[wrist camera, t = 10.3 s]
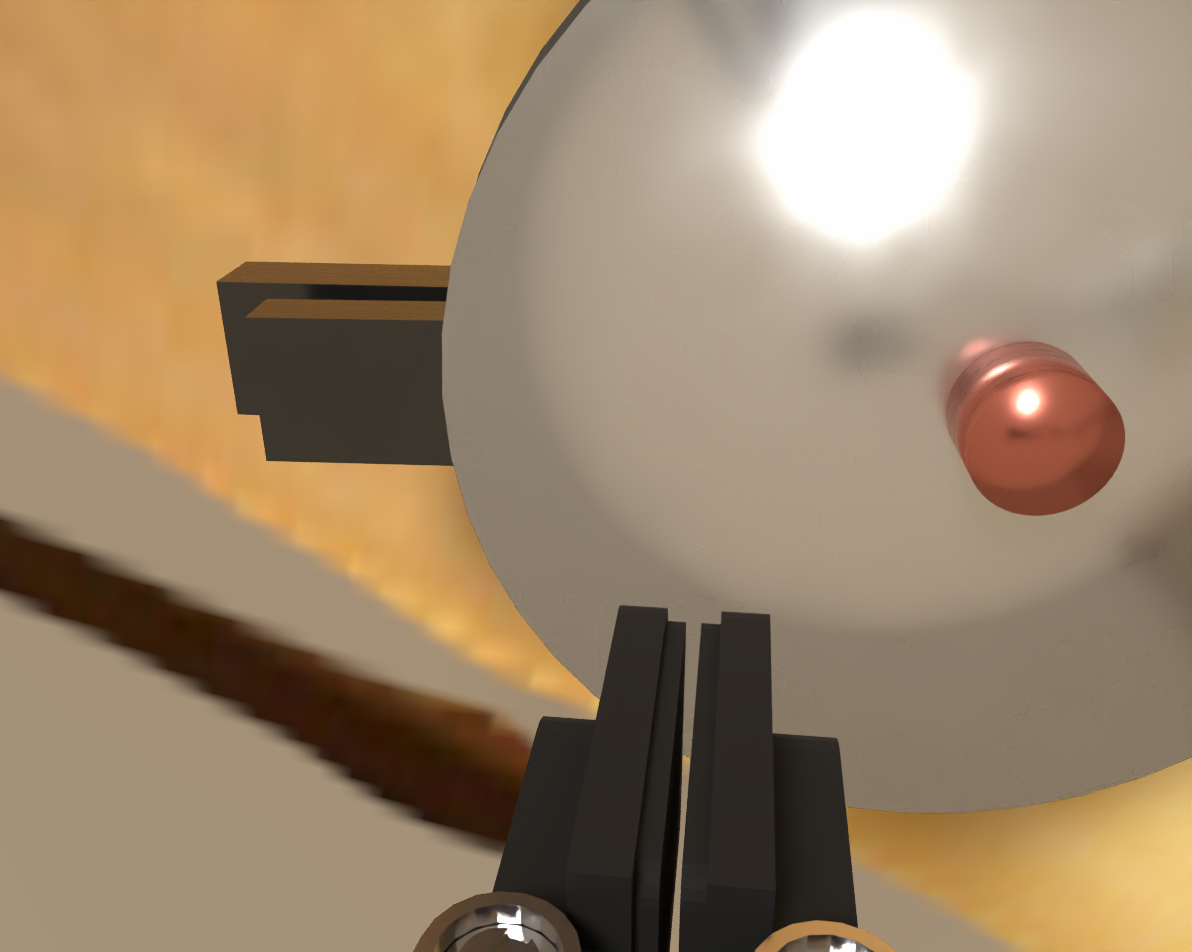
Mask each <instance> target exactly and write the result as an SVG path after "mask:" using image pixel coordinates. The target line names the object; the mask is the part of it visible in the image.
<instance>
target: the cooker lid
mask: <svg viewBox="0 0 1192 952" xmlns="http://www.w3.org/2000/svg"><path fill="white" fill-rule="evenodd" d="M245 323H246V329H247V336H248V342H249V349H250V355H251V362H252V369H253V375H254V382H255V388H256V395H257V401H258V408H259V414H260V421H261V428H262V434H263V441H264V447H265V454H266V460H267V461H289V462H328V463H366V464H405V465H444V466H454V469H455V472H456V476H457V479H458V483H459V486H460V490H461V493H462V497H463V500H464V503H465V507H466V510H467V514H468V516H469V518H470V521H471V523H472V525H473V527H474V530H475V532H476V534H477V536H478V539H479V541H480V543H481V545H482V548H483V550H484V552H485V554H486V557H487V559H488V561H489V564H490V566H491V568H492V569H493V571H494V572H495V574H496V576H497V577H498V579H499V581H500V582H501V584H502V585H503V587H504V589H505V590H506V592H507V594H508V595H509V597H510V599H511V600H512V602H513V603H514V605H515V607H516V608H517V610H518V612H519V613H520V615H521V616H522V617H523V618H524V620H525V621H526V622H527V623H528V625H529V626H530V627H531V628H532V630H533V631H534V632H535V633H536V635H537V636H538V637H539V638H540V640H541V641H542V642H543V643H544V644H545V646H546V647H547V648H548V649H549V651H550V652H551V653H552V654H553V656H554V657H555V658H556V659H557V660H558V661H559V662H560V663H561V664H562V665H563V666H564V667H565V668H566V669H568V670H569V671H570V672H571V673H572V674H573V675H574V676H575V677H576V678H577V679H578V680H579V681H580V682H581V683H582V684H583V685H584V686H585V687H586V688H587V689H588V690H589V691H590V692H591V693H592V694H594V695H595V696H596V697H597V698H598V699H600V697H601V692H602V687H603V682H604V677H605V672H606V667H607V662H608V658H609V653H610V648H611V643H612V638H613V633H614V628H615V623H616V618H617V613H618V609H619V606H620V605H628V606H644V607H661V608H668V621H678V622H686V652H685V685H684V719H683V752H682V754H683V755H685V756H686V757H689V758H691V748H692V736H693V723H694V711H695V698H696V685H697V673H698V660H699V647H700V635H701V624H702V623H711V624H721V611H726V612H743V613H759V614H770V626H771V676H772V726H773V733H778V734H791V735H805V736H818V737H832V738H837V740H838V742H839V748H840V756H841V766H842V776H843V786H844V796H845V806H846V807H850V808H861V809H871V810H881V811H891V812H901V813H966V812H976V811H986V810H996V809H1006V808H1016V807H1025V806H1030V805H1035V804H1040V803H1045V802H1050V801H1055V800H1060V799H1065V798H1070V797H1076V796H1081V795H1085V794H1088V793H1092V792H1095V791H1098V790H1102V789H1105V788H1108V787H1112V786H1115V785H1118V784H1122V783H1125V782H1128V781H1132V780H1135V779H1138V778H1142V777H1144V776H1147V775H1149V774H1152V773H1154V772H1157V771H1159V770H1162V769H1164V768H1167V767H1169V766H1171V765H1174V764H1176V763H1179V762H1181V761H1184V760H1186V759H1189V758H1191V757H1192V0H591V1H590V2H589V3H588V4H587V5H586V6H585V7H584V8H583V10H582V11H581V12H580V13H579V15H578V16H577V17H576V18H575V20H574V21H573V22H572V23H571V25H570V26H569V27H568V29H567V30H566V31H565V32H564V34H563V35H562V36H561V37H560V39H559V40H558V41H557V42H556V44H555V45H554V46H553V48H552V49H551V50H550V51H549V53H548V54H547V55H546V56H545V58H544V59H543V60H542V61H541V63H540V64H539V65H538V67H537V68H536V70H535V71H534V73H533V75H532V76H531V78H530V80H529V81H528V83H527V85H526V86H525V88H524V90H523V91H522V93H521V95H520V96H519V98H518V100H517V101H516V103H515V105H514V107H513V108H512V110H511V112H510V113H509V115H508V117H507V118H506V120H505V122H504V123H503V125H502V127H501V128H500V130H499V132H498V133H497V136H496V138H495V141H494V143H493V145H492V148H491V150H490V152H489V155H488V157H487V159H486V162H485V164H484V166H483V169H482V171H481V173H480V176H479V178H478V180H477V183H476V185H475V187H474V190H473V192H472V194H471V197H470V199H469V202H468V206H467V210H466V213H465V217H464V220H463V224H462V228H461V231H460V235H459V239H458V242H457V246H456V250H455V253H454V257H453V260H452V264H451V268H450V276H449V284H448V291H447V299H446V301H377V300H308V299H266V300H265V301H263V302H262V303H261V304H260V305H259V306H258V307H256V308H255V309H254V310H253V311H252V312H251V313H249V314H248V315H247V316H246V317H245Z"/></svg>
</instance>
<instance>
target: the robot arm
mask: <svg viewBox="0 0 1192 952" xmlns="http://www.w3.org/2000/svg"><path fill="white" fill-rule="evenodd" d="M685 652H686V622H678V621H668V608H661V607H644V606H628V605H620V606H619V609H618V613H617V618H616V623H615V628H614V633H613V638H612V643H611V648H610V653H609V658H608V662H607V667H606V672H605V677H604V682H603V687H602V692H601V697H600V702H599V707H598V712H597V717H596V720H587V719H573V718H560V717H545V716H543V717H542V719H541V720H540V722H539V725H538V728H537V731H536V735H535V739H534V742H533V746H532V750H531V753H530V757H529V761H528V764H527V768H526V772H525V775H524V779H523V783H522V786H521V790H520V794H519V797H518V801H517V805H516V808H515V812H514V815H513V819H512V823H511V826H510V830H509V834H508V837H507V841H506V845H505V848H504V852H503V856H502V859H501V863H500V867H499V870H498V874H497V878H496V881H495V885H494V889H493V892H492V893H487V894H480V895H476V896H473V897H471V898H468V899H466V900H464V901H461V902H459V903H456V904H454V905H453V906H451V907H450V908H449V909H447V910H446V911H445V912H443V913H442V914H441V915H439V916H438V917H437V918H435V919H434V920H433V922H432V923H431V924H430V926H429V927H428V928H427V930H426V931H425V933H424V934H423V935H422V937H421V938H420V940H419V942H418V944H417V946H416V947H415V950H414V951H413V952H670V940H671V928H672V916H673V903H674V893H675V881H676V880H675V879H676V869H677V857H678V845H679V831H680V814H681V785H682V752H683V719H684V685H685ZM680 900H681V901H680V928H679V952H895V950H894V949H893V948H892V947H891V946H890V945H888V944H886V943H885V942H883V941H882V940H880V939H878V938H877V937H875V936H874V935H872V934H870V933H869V932H867V931H864V930H861V929H859V928H858V926H857V925H858V924H857V914H856V904H855V895H854V885H853V875H852V865H851V855H850V845H849V835H848V825H847V815H846V806H845V796H844V786H843V776H842V766H841V756H840V748H839V742H838V740H837V738H832V737H818V736H805V735H791V734H778V733H773V726H772V676H771V626H770V614H759V613H743V612H726V611H721V624H711V623H702V624H701V635H700V647H699V660H698V673H697V685H696V698H695V711H694V723H693V736H692V748H691V761H690V774H689V786H688V799H687V812H686V824H685V837H684V850H683V863H682V879H681V899H680Z"/></svg>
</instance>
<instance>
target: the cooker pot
mask: <svg viewBox="0 0 1192 952" xmlns="http://www.w3.org/2000/svg"><path fill="white" fill-rule="evenodd" d="M590 1H591V0H580V1H579V2H578V4H577V5H576V6H575V8H574V9H573V10H572V11H571V13H570V14H569V15H568V16H567V18H566V19H565V20H564V22H563V23H562V24H561V25H560V27H559V28H558V29H557V30H556V32H555V33H554V34H553V36H552V37H551V38H550V39H549V41H548V42H547V43H546V45H545V46H544V47H543V48H542V50H541V52H540V53H539V55H538V57H537V58H536V60H535V62H534V63H533V65H532V67H531V68H530V70H529V72H528V74H527V75H526V77H525V79H524V80H523V82H522V84H521V85H520V87H519V89H518V90H517V92H516V94H515V96H514V97H513V99H512V101H511V102H510V104H509V106H508V107H507V109H506V111H505V113H504V116H503V118H502V120H501V123H500V125H499V127H498V130H497V132H496V134H495V137H494V139H493V142H492V144H491V146H490V149H489V151H488V153H487V156H486V158H485V160H484V163H483V165H482V167H481V170H480V172H479V175H478V178H479V176H480V173H481V171H482V169H483V166H484V164H485V162H486V159H487V157H488V155H489V152H490V150H491V148H492V145H493V143H494V141H495V138H496V136H497V133H498V132H499V130H500V128H501V127H502V125H503V123H504V122H505V120H506V118H507V117H508V115H509V113H510V112H511V110H512V108H513V107H514V105H515V103H516V101H517V100H518V98H519V96H520V95H521V93H522V91H523V90H524V88H525V86H526V85H527V83H528V81H529V80H530V78H531V76H532V75H533V73H534V71H535V70H536V68H537V67H538V65H539V64H540V63H541V61H542V60H543V59H544V58H545V56H546V55H547V54H548V53H549V51H550V50H551V49H552V48H553V46H554V45H555V44H556V42H557V41H558V40H559V39H560V37H561V36H562V35H563V34H564V32H565V31H566V30H567V29H568V27H569V26H570V25H571V23H572V22H573V21H574V20H575V18H576V17H577V16H578V15H579V13H580V12H581V11H582V10H583V8H584V7H585V6H586V5H587V4H588V3H589V2H590ZM477 180H478V179H477ZM476 183H477V182H476ZM450 268H451V266H431V265H383V264H335V263H286V262H245V263H244V264H242V265H241V266H239V267H238V268H236V269H235V270H233V271H232V272H230V273H229V274H227V275H226V276H224V277H223V278H221V279H220V280H218V281H217V288H218V295H219V301H220V307H221V313H222V319H223V325H224V332H225V338H226V344H227V350H228V356H229V363H230V369H231V375H232V381H233V387H234V394H235V400H236V406H237V412H238V414H245V415H260V414H259V408H258V401H257V395H256V388H255V382H254V375H253V369H252V362H251V355H250V349H249V342H248V336H247V329H246V323H245V317H246V316H247V315H248V314H249V313H251V312H252V311H253V310H254V309H255V308H256V307H258V306H259V305H260V304H261V303H262V302H263V301H265V300H266V299H308V300H377V301H446V299H447V291H448V284H449V276H450Z"/></svg>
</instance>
